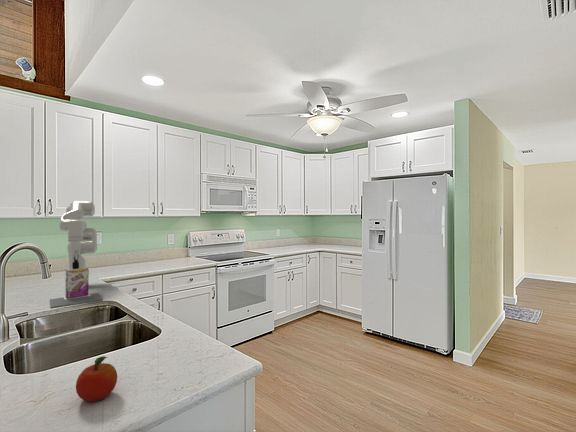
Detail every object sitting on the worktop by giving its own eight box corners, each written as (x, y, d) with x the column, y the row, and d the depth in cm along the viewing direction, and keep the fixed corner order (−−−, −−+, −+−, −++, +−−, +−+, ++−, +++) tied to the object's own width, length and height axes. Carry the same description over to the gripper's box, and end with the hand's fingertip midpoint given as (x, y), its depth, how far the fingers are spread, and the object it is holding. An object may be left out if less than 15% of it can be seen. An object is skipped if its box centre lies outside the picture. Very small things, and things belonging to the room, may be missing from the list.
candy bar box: (66, 298, 179) (66, 270, 179) (65, 297, 182) (65, 269, 182) (88, 295, 186) (88, 268, 186) (87, 293, 190) (87, 267, 190)
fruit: (65, 406, 78) (65, 367, 78) (95, 385, 88) (95, 351, 88) (98, 410, 77) (98, 370, 77) (125, 388, 86) (124, 353, 86)
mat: (49, 300, 179) (49, 298, 179) (97, 293, 194) (97, 292, 194) (50, 308, 163) (50, 306, 163) (102, 300, 178) (102, 299, 178)
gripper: (67, 239, 195) (67, 268, 195) (69, 240, 184) (69, 270, 183) (81, 238, 200) (81, 266, 200) (84, 239, 188) (84, 269, 188)
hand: (75, 268), depth 191 cm, fingers closed
